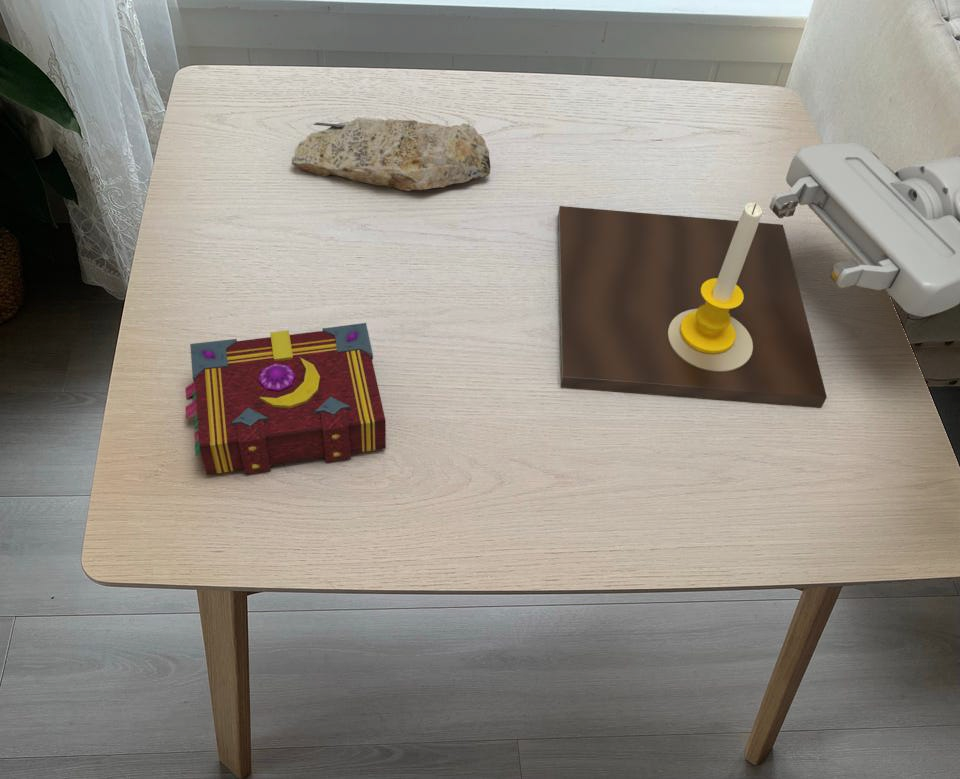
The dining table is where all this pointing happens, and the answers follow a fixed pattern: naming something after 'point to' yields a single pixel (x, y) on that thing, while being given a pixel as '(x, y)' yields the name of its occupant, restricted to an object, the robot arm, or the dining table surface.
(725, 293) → the candle
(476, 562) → the dining table surface
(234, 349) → the decorative book
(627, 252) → the board
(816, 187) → the robot arm
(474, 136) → the stone
